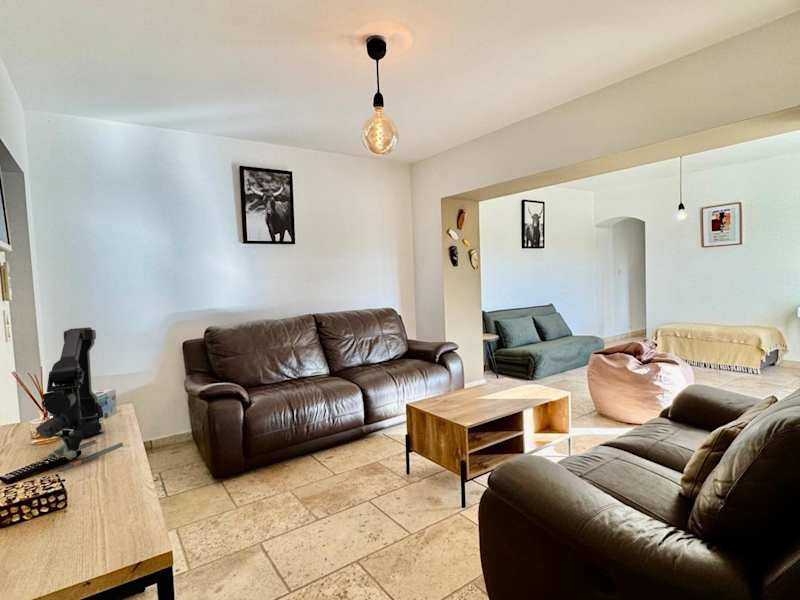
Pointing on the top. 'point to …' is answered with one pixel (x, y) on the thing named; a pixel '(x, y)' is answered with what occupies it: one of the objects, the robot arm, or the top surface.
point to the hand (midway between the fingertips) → (73, 453)
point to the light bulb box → (107, 401)
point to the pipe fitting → (62, 452)
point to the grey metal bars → (78, 462)
